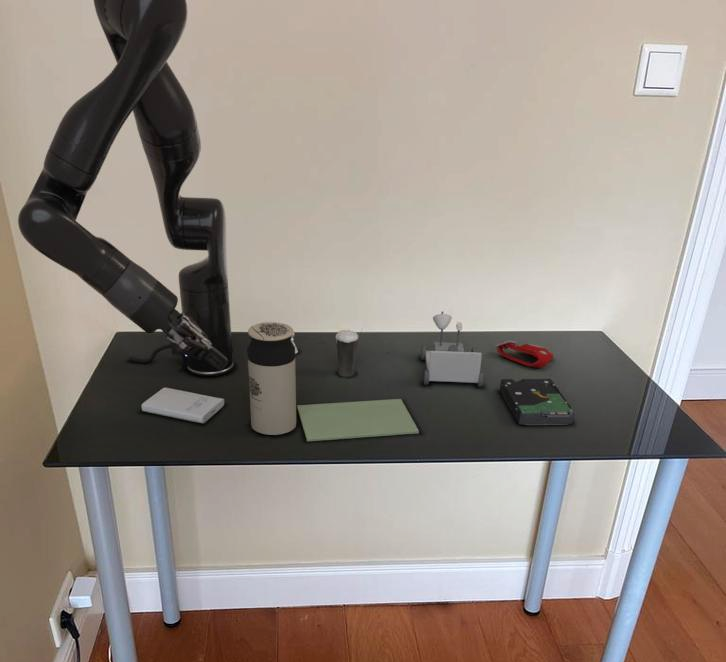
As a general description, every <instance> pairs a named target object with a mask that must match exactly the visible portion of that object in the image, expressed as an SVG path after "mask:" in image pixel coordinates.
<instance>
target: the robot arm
mask: <svg viewBox="0 0 726 662" xmlns="http://www.w3.org/2000/svg"><path fill="white" fill-rule="evenodd" d="M93 5H94V10H95V14H96V16H97V19H98V21H99V24H100V26H101V29H102V31H103V33H104V36H105V38H106V40H107V42H108V45H109V47H110V51H111V52H112V54H113V57H114V59H115V61H116V62H115V63H116V64H115V66H114V67H113V69H112V70H111V72H110V73H109V74H108V75H107V76H106V77H105V78H104V79H103V80H102V81H101V82H99V83H98V84H97V85H96V86H95V87H94V88H92V89H91V90H89V91H88V92H86V93H85V94H84V95H83V96H81V97H80V98H79V99H77V100H76V101H75V102H74V103H73V104H72V105H71V106H70V107H69V108H68V110H67V111H66V112H65V114H64V115H63V116H62V118H61V121H60V122H59V124H58V127H57V129H56V131H55V133H54V136H53V138H52V140H51V142H50V145H49V146H48V149H47V152H46V154H45V156H44V157H45V158H44V161H43V166H42V167H43V168H42V170H41V171H40V174H39V176H38V177H37V180H36V182H35V183H34V185H33V187H32V190H31V191H30V194H29V196H28V198H27V199H26V201H25V203H24V205H22V208H21V209H20V211H19V214H18V217H17V224H18V229H19V232H20V234H21V235H22V237H23V238H24V239H25V241H26V242H27V243H28V244H29V245H30V246H31V247H32V248H34V249H35V250H36V251H37V252H38V253H40V254H41V255H43V256H45V257H46V258H47V259H49V260H51V261H53V262H54V263H56V264H57V265H59V266H61V267H63V268H64V269H66V270H68V271H70V272H72V273H73V274H75V275H76V276H77V277H78V278H80V280H82V281H83V282H84V283H86V284H87V286H89V287H90V288H91V289H93V290H94V291H96V292H97V293H98V294H99V295H101V296H102V297H103V298H104V299H105V300H106V301H107V302H108V303H109V304H110V305H111V307H113V308H115V310H117V311H119V312H120V313H121V314H122V315H123V316H125V317H126V318H127V319H128V320H130V321H131V322H132V323H134V324H135V325H136V326H137V327H139V328H140V329H141V330H142V331H144V332H145V333H146V334H153V333H155V332H156V331H157V330H161V331H162V333H164V334H165V338H166V339H167V340H169V342H170V343H168V344H167V343H166V344H164V345H161V346H159V347H156V348H155V349H154V350H153V351H152V353H151V355H150V356H149V357H148V358H137V357H133V356H128V361H129V362H133V363H134V362H135V363H139V364H148V363H151V362H152V361H153V360H154V359H155V357H156V356H157V355H158V353H159V352H162V351H163V350H167V349H171V354H172V355H173V356H179V357H181V360H182V369H183V370H184V371H187V372H188V373H190V374H192V375H194V376H197V377H203V378H205V377H206V378H211V377H219V376H224V375H226V374H228V373H230V372H231V371H233V370H234V368H235V365H234V356H233V354H235V348H234V346H233V341H232V323H231V307H230V306H231V305H230V294H229V293H230V292H229V279H228V261H227V260H228V259H227V217H226V210H225V206H224V204H223V202H222V201H221V199H218V198H215V197H191V196H181V194H180V192H181V189H182V187H183V185H184V184H185V182H186V180H187V179H188V177H189V176H190V174H191V173H192V171H193V170H194V168H195V167H196V164H197V163H198V160H199V159H200V156H201V155H200V154H201V151H202V142H201V137H200V131H199V126H198V122H197V118H196V113H195V110H194V108H193V104H192V102H191V101H190V99H189V97H188V95H187V92H186V91H185V89H184V88H183V86H182V84H181V83H180V81H179V79H178V77H177V75H175V73H174V71H173V70H172V68H171V66H170V65H169V63H168V60H169V58H170V57H171V56H172V54H173V52H174V51H175V49H176V48H177V45H178V44H179V42H180V41H181V39H182V36H183V34H184V31H185V28H186V25H187V22H188V21H187V20H188V4H187V0H93ZM132 113H133V116H134V117H133V118H134V121H135V125H136V129H137V132H138V135H139V139H140V142H141V145H142V149H143V151H144V154H145V157H146V160H147V163H148V166H149V169H150V173H151V176H152V178H153V182H154V186H155V189H156V190H155V191H156V194H157V199H158V203H159V208H160V213H161V218H162V224H163V227H164V231H165V235H166V238H167V240H168V242H169V244H170V245H171V246H172V247H173V248H175V249H178V250H182V251H203V252H204V251H206V252H207V256H206V257H205V258H204V259H202V260H200V261H198V262H195V263H192V264H188V265H186V266H183V268H181V269H180V270H179V272H178V286H179V287H178V288H179V297H180V307H181V313H180V312H179V311H178V310H177V309H176V307H177V306H178V304H179V303H178V302H179V298H178V296H177V294H175V293H174V292H172V291H171V290H170V289H169V288H167V286H166V285H164V284H163V283H162V282H160V281H159V279H157V278H156V277H155V276H154V275H152V274H151V273H149V272H148V271H147V270H146V269H145V268H143V267H142V266H140V264H137V263H136V262H134V261H133V260H132V259H130V258H129V257H128V256H127V255H126V254H124V253H123V252H122V251H121V250H119V248H117V247H116V246H115V245H113V244H112V243H111V242H110V241H108V240H107V239H105V238H103V237H100V236H96V235H94V234H93V233H91V232H90V231H89V230H88V229H87V228H86V227H84V226H83V225H81V224H80V223H79V222H78V221H77V218H78V216H79V214H80V211H81V209H82V206H83V204H84V202H85V199H86V196H87V194H88V192H89V191H90V190H91V188H92V187H93V185H94V183H95V182H96V180H97V179H98V176H99V174H100V172H101V169H102V167H103V166H104V164H105V161H106V159H107V157H108V155H109V153H110V151H111V148H112V146H113V144H114V142H115V140H116V138H117V136H118V135H119V133H120V131H121V129H122V128H123V126H124V124H125V123H126V122H127V120H128V118H129V116H130V115H131V114H132Z"/></svg>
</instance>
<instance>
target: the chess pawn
mask: <svg viewBox="0 0 726 662" xmlns="http://www.w3.org/2000/svg"><path fill="white" fill-rule="evenodd" d="M295 336H296V334H295V331H294V330H293V334H292V336H291V341H292V343H293V345H294V347H295V355H296V354H298V353H299V350H298V347H297V346H296V343H295V342H294V340H295V339H294V337H295Z"/></svg>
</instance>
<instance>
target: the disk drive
mask: <svg viewBox="0 0 726 662" xmlns="http://www.w3.org/2000/svg"><path fill="white" fill-rule="evenodd" d="M499 386H500V387H499V390H500V393H501V395H502V397H503V398H504V401H505V402H506V404H507V406H508V407H509V409H510V411H511V413H512V414H513V416H514V418H515V420H516V421H517V423H518V425H523V426H524V425H526V426H549V425H550V426H551V425H553V426H555V425H572V424H573V422H574V419H575V414H574V410H573V409H572V408H573V407H572V406H571V404H569V402H568V401H567V399H566V398H565V397H564V395H563V394H562V392H561V391H560V389H559V388H558V387H557V385H556V384H555V382H554V381H553V380H552V379H551V378H522V379H519V380H517V381H516V380H514V379H512V378H501V379H500V385H499Z"/></svg>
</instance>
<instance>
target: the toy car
mask: <svg viewBox="0 0 726 662" xmlns="http://www.w3.org/2000/svg"><path fill="white" fill-rule="evenodd" d="M440 312H441V313H439V314H435V315H433V316H432V320H433V322H434V324H435V326H436V327H437V328H438V329H439V330H440V339H439V341H434V343H433V349H434V350H427V346H426V345H422V346H421V349H420V360H421V361H425V366H426V369H424V370H423V385H424V386H429V384H430V382H446V383H447V382H450V383H451V382H452V383H454V382H455V383H473V384H474V383H475V384H476V386H477V387H478V388H483V386H484V377H485V376H484V372H483V371H481V366H482V357H483V354H482V352H478V349H477V347H472V348H471V351H465V349H464V344H463V343H462V342H460V341H459V340H460V332H461V331H463V323H462V322H461V321H460V322H459V321H456V325H455V328H456V331H457V335H456V342H445V341H443V334H444V330H445V329H447V328H448V326H449V325H450V323H451V321H452V319H453V317H452V315H450V314H446V313H444V311H440Z"/></svg>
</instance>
